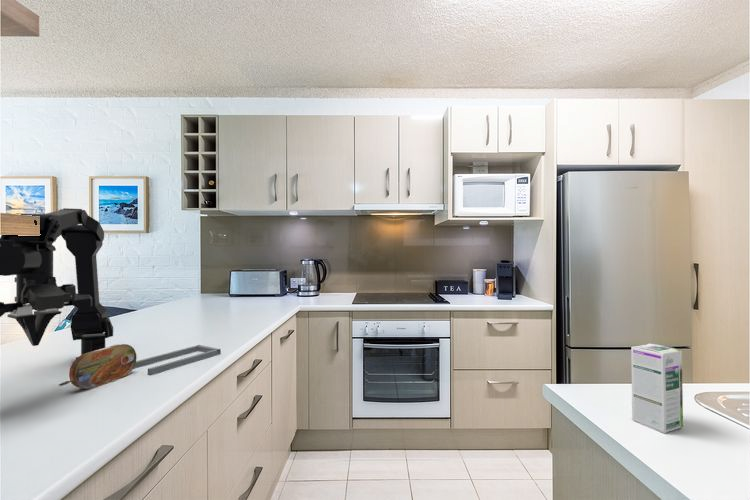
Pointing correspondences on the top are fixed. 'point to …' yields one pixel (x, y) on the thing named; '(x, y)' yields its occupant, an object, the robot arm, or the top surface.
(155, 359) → the slate corral
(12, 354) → the top surface
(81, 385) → the tin
